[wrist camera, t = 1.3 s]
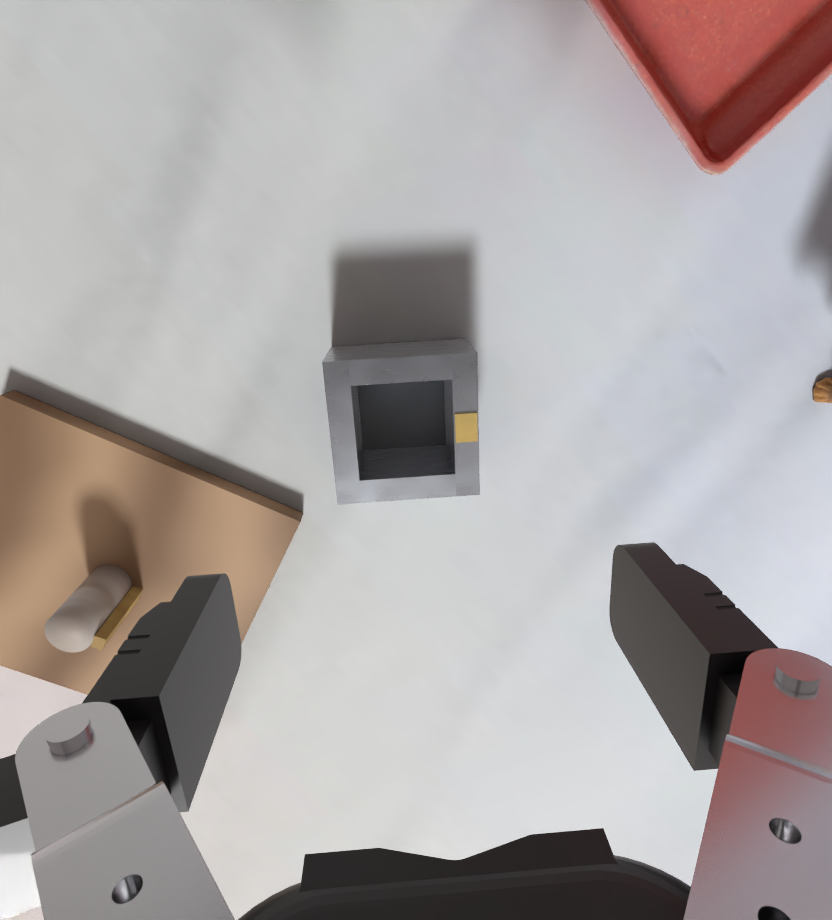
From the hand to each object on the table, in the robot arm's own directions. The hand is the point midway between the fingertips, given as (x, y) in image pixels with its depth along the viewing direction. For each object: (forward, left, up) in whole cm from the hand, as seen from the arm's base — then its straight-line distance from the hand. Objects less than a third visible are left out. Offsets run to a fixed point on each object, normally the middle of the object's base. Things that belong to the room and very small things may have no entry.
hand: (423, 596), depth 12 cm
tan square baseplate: (-9, -14, -16) cm, 23 cm away
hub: (0, 0, -16) cm, 16 cm away
